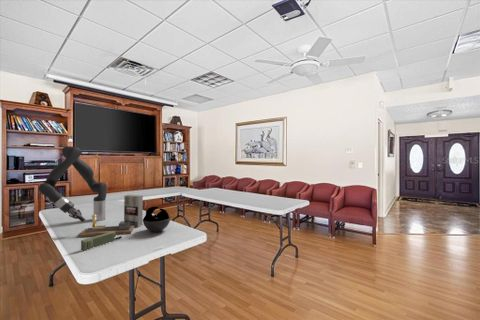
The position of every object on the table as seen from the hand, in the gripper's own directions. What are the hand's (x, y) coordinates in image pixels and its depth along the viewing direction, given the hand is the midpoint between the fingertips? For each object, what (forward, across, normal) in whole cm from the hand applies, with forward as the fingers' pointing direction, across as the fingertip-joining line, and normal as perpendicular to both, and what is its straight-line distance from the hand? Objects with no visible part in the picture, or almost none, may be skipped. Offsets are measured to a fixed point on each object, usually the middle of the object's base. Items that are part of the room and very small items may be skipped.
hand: (84, 220), depth 168 cm
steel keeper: (+25, 0, -14) cm, 28 cm away
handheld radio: (+21, -24, -6) cm, 33 cm away
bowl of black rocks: (+43, -5, -29) cm, 52 cm away
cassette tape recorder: (+29, +14, -15) cm, 35 cm away
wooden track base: (+18, 0, -4) cm, 19 cm away
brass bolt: (+12, 0, -1) cm, 12 cm away
